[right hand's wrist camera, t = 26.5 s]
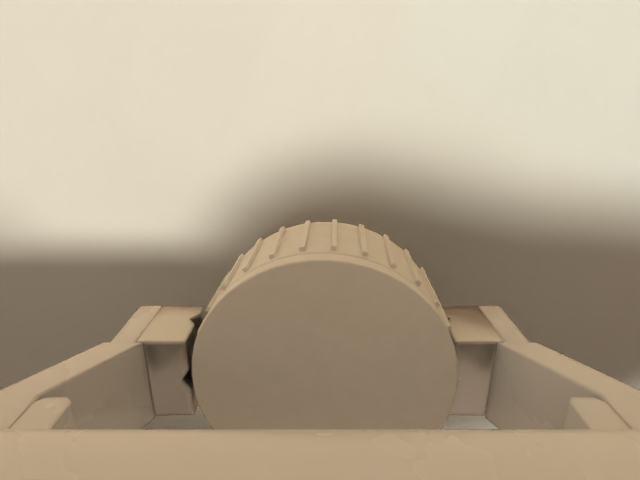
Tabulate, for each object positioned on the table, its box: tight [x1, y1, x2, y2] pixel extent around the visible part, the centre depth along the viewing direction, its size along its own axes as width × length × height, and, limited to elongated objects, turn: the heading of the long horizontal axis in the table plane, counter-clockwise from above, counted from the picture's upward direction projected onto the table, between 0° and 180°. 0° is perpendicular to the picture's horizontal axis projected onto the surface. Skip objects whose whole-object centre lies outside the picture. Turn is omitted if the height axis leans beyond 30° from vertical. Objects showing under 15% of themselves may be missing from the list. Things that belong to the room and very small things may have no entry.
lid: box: [192, 219, 459, 429], centre depth 9 cm, size 5×5×2 cm
